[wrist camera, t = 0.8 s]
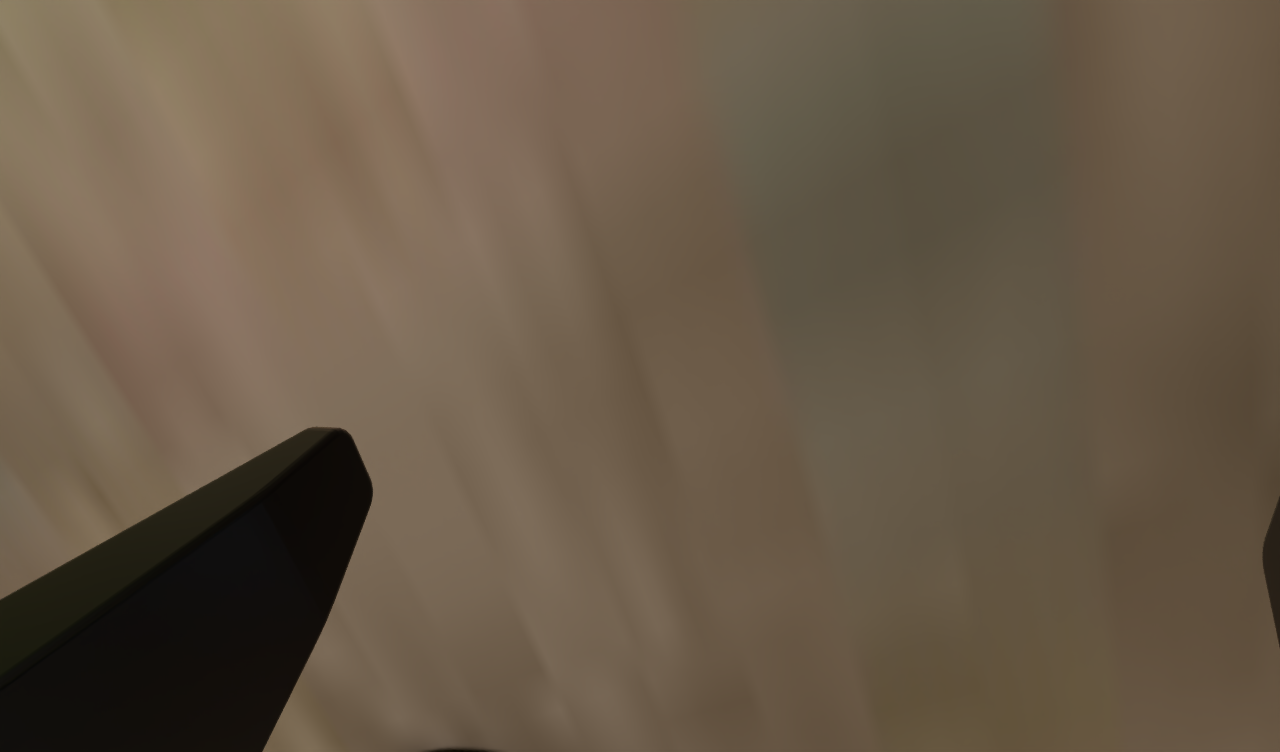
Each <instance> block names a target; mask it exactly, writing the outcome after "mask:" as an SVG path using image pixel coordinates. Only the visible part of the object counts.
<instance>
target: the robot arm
mask: <svg viewBox="0 0 1280 752" xmlns="http://www.w3.org/2000/svg"><path fill="white" fill-rule="evenodd" d="M372 497H373V487H372V482H371V479H370V477H369V474H368V472H367V470H366V467H365V465H364V463H363V461H362V458H361V456H360V454H359V451H358V449H357V447H356V445H355V442H354V440H353V438H352V436H351V435H350V434H349V433H348V432H347V431H346V430H344V429H341V428H331V427H311V428H308V429H306V430H304V431H302V432H300V433H298V434H296V435H295V436H293V437H291V438H289V439H287V440H286V441H284V442H282V443H280V444H278V445H277V446H275V447H273V448H271V449H270V450H268V451H266V452H264V453H262V454H261V455H259V456H257V457H255V458H253V459H252V460H250V461H248V462H246V463H244V464H243V465H241V466H239V467H237V468H235V469H234V470H232V471H230V472H228V473H227V474H225V475H223V476H221V477H219V478H218V479H216V480H214V481H212V482H210V483H209V484H207V485H205V486H203V487H201V488H200V489H198V490H196V491H194V492H192V493H191V494H189V495H187V496H185V497H184V498H182V499H180V500H178V501H176V502H175V503H173V504H171V505H169V506H167V507H166V508H164V509H162V510H160V511H158V512H157V513H155V514H153V515H151V516H149V517H148V518H146V519H144V520H142V521H140V522H139V523H137V524H135V525H133V526H132V527H130V528H128V529H126V530H124V531H123V532H121V533H119V534H117V535H115V536H114V537H112V538H110V539H108V540H106V541H105V542H103V543H101V544H99V545H97V546H96V547H94V548H92V549H90V550H89V551H87V552H85V553H83V554H81V555H80V556H78V557H76V558H74V559H72V560H71V561H69V562H67V563H65V564H63V565H62V566H60V567H58V568H56V569H54V570H53V571H51V572H49V573H47V574H46V575H44V576H42V577H40V578H38V579H37V580H35V581H33V582H31V583H29V584H28V585H26V586H24V587H22V588H20V589H19V590H17V591H15V592H13V593H11V594H10V595H8V596H6V597H4V598H3V599H1V600H0V752H262V751H263V749H264V747H265V745H266V743H267V741H268V739H269V737H270V735H271V733H272V731H273V729H274V727H275V725H276V723H277V721H278V719H279V717H280V715H281V713H282V711H283V709H284V707H285V705H286V703H287V701H288V699H289V697H290V695H291V693H292V691H293V689H294V687H295V685H296V683H297V681H298V679H299V677H300V675H301V673H302V671H303V669H304V667H305V665H306V663H307V661H308V659H309V657H310V655H311V653H312V651H313V649H314V647H315V644H316V642H317V640H318V638H319V636H320V634H321V632H322V630H323V628H324V625H325V623H326V621H327V619H328V616H329V614H330V611H331V609H332V606H333V604H334V601H335V599H336V596H337V593H338V591H339V588H340V585H341V583H342V580H343V578H344V575H345V572H346V570H347V567H348V564H349V562H350V559H351V556H352V554H353V551H354V548H355V546H356V543H357V540H358V538H359V535H360V532H361V530H362V527H363V524H364V522H365V519H366V516H367V514H368V511H369V509H370V506H371V502H372ZM1263 568H1264V574H1265V579H1266V583H1267V588H1268V593H1269V598H1270V603H1271V608H1272V613H1273V617H1274V622H1275V627H1276V632H1277V637H1278V642H1279V647H1280V497H1279V500H1278V503H1277V506H1276V508H1275V511H1274V514H1273V517H1272V520H1271V523H1270V526H1269V529H1268V531H1267V534H1266V537H1265V541H1264V545H1263Z"/></svg>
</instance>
